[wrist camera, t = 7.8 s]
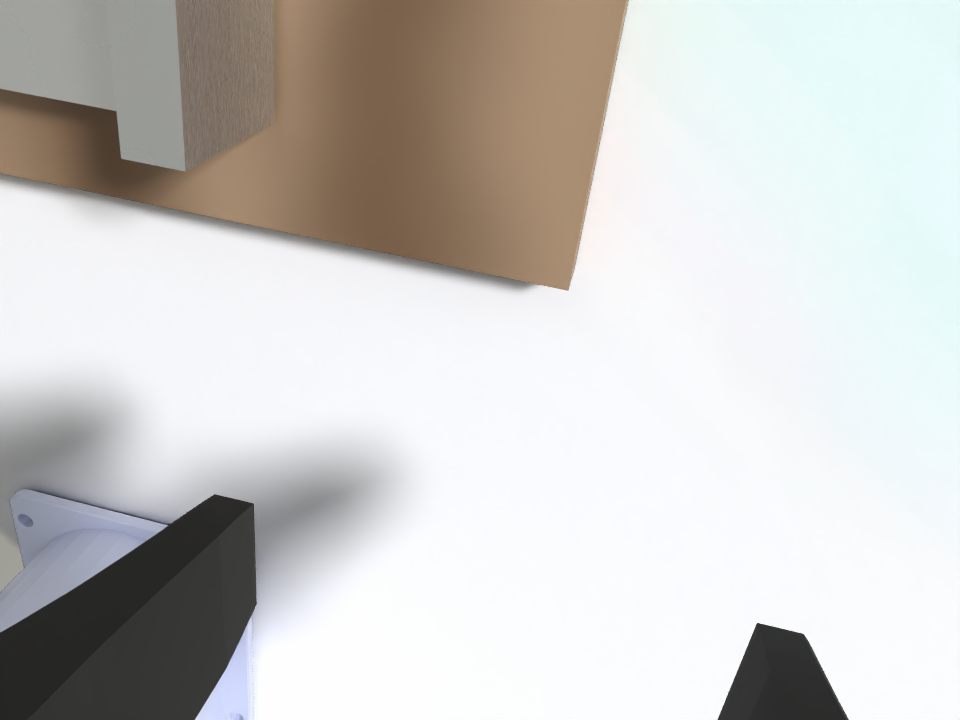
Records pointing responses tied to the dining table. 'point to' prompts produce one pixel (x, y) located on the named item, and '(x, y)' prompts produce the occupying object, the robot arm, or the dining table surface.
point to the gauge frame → (386, 133)
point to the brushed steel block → (149, 68)
